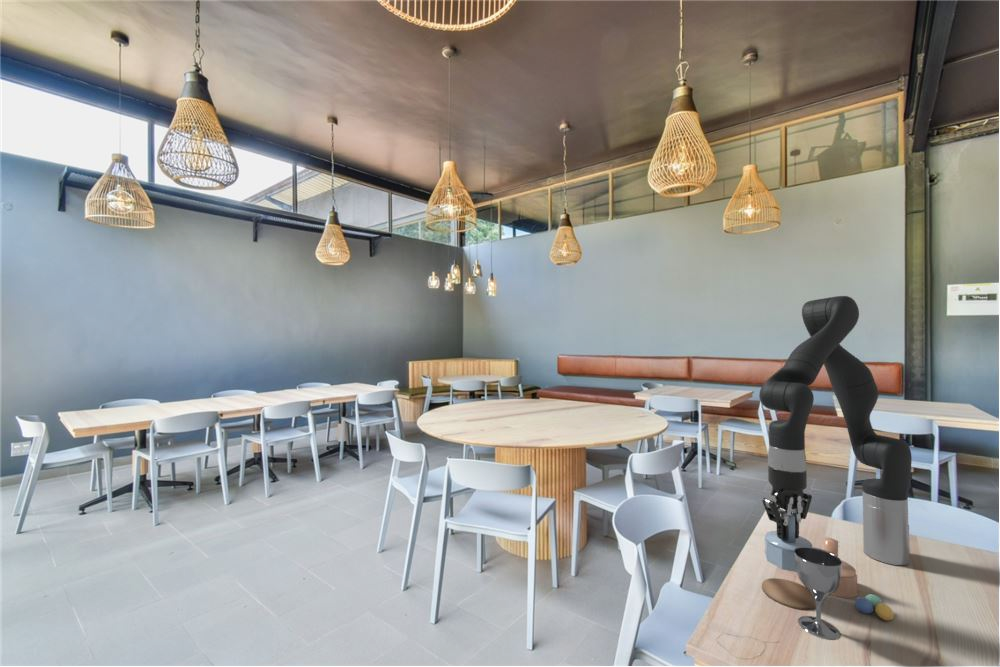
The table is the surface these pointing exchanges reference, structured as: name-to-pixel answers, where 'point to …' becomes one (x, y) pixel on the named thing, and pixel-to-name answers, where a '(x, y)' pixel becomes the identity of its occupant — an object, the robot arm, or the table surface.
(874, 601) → the marble seagreen
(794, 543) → the slate cloche
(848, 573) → the terracotta cloche
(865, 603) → the marble inkblue
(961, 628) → the table surface
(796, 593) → the disc
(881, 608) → the marble amber
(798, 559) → the wine glass
